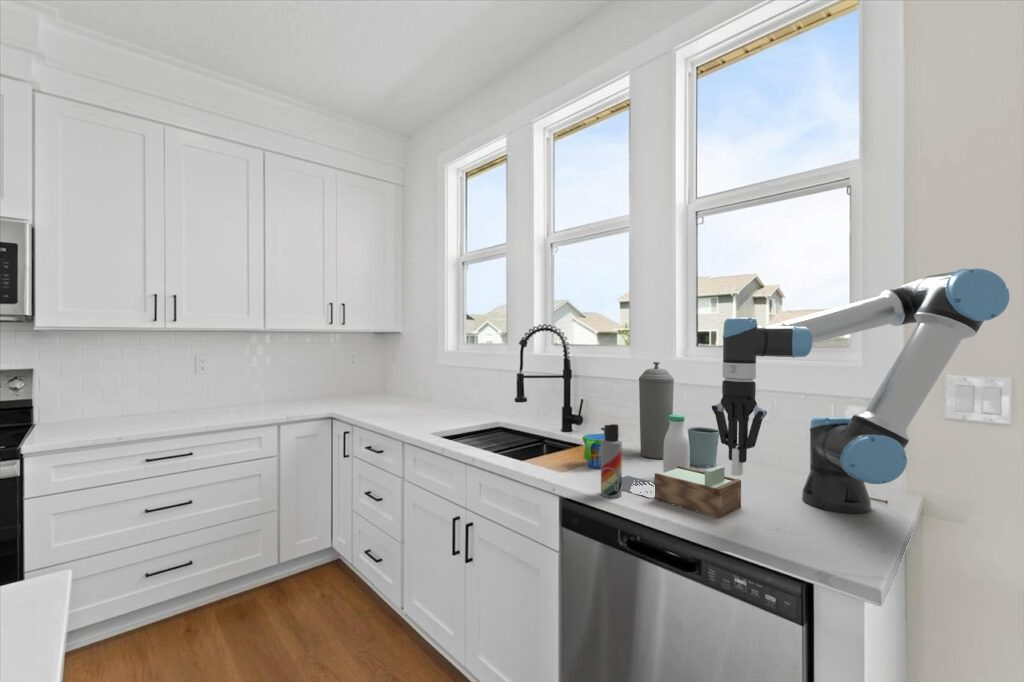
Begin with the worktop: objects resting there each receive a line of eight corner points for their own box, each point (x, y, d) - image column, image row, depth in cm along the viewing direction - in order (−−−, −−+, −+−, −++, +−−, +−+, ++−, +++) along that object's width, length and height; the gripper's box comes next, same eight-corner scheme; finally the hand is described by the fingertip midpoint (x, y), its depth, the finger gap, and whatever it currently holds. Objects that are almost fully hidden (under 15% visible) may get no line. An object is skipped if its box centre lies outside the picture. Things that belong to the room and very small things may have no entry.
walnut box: (741, 507, 126) (741, 480, 126) (718, 518, 119) (718, 489, 119) (678, 490, 140) (678, 465, 140) (654, 499, 132) (654, 473, 132)
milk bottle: (691, 484, 146) (691, 417, 146) (664, 482, 148) (665, 417, 147) (687, 476, 154) (687, 413, 153) (662, 475, 155) (662, 413, 155)
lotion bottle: (609, 499, 132) (609, 426, 132) (596, 493, 137) (597, 423, 137) (625, 496, 135) (626, 424, 135) (612, 490, 140) (612, 421, 140)
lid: (733, 485, 127) (733, 467, 127) (714, 493, 121) (714, 474, 120) (677, 472, 139) (677, 455, 139) (658, 478, 133) (658, 461, 133)
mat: (676, 489, 141) (676, 488, 141) (650, 498, 133) (650, 498, 133) (627, 476, 154) (627, 475, 154) (601, 484, 146) (601, 483, 146)
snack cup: (599, 459, 175) (599, 431, 175) (624, 464, 168) (624, 435, 168) (572, 467, 164) (572, 437, 164) (597, 473, 157) (597, 442, 157)
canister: (650, 450, 189) (650, 360, 189) (680, 456, 180) (680, 361, 179) (631, 455, 181) (631, 361, 180) (662, 462, 171) (662, 363, 171)
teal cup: (682, 460, 174) (683, 427, 173) (709, 459, 175) (709, 426, 175) (696, 468, 164) (696, 432, 163) (725, 467, 165) (725, 432, 164)
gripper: (706, 378, 123) (704, 471, 123) (759, 383, 113) (757, 483, 114) (720, 377, 128) (719, 466, 128) (772, 381, 118) (771, 477, 118)
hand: (737, 474), depth 121 cm, fingers closed
